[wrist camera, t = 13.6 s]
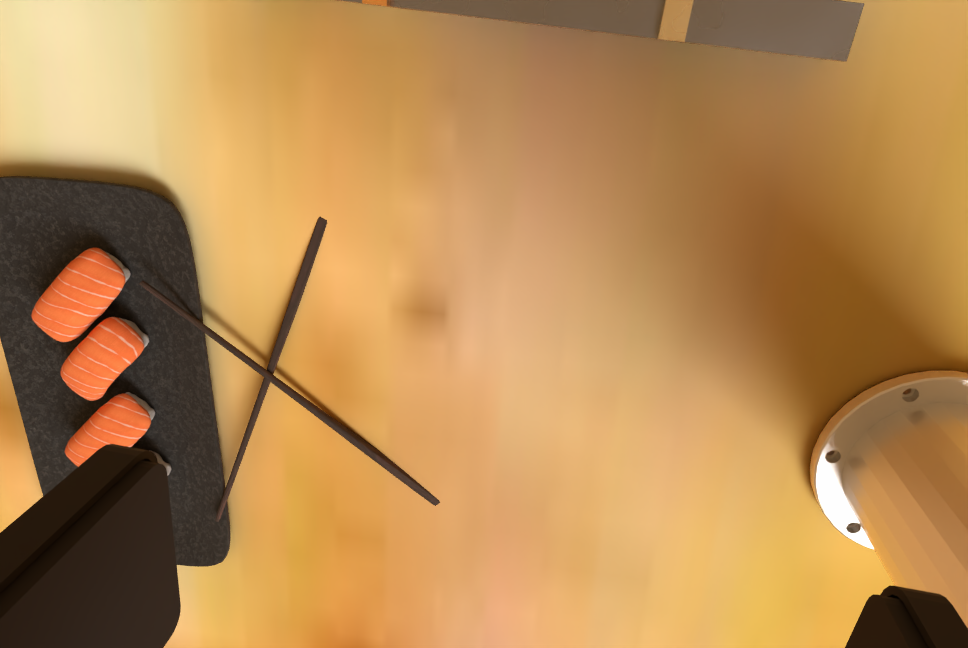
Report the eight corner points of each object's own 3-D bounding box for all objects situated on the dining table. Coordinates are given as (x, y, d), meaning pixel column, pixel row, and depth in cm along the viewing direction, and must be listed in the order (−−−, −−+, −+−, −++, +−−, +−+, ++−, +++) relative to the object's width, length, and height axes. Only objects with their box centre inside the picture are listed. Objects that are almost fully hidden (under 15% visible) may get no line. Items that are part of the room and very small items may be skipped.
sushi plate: (-20, 165, 42) (-75, 177, 38) (451, 202, 39) (438, 218, 35) (73, 531, 53) (38, 566, 50) (441, 583, 50) (430, 624, 47)
